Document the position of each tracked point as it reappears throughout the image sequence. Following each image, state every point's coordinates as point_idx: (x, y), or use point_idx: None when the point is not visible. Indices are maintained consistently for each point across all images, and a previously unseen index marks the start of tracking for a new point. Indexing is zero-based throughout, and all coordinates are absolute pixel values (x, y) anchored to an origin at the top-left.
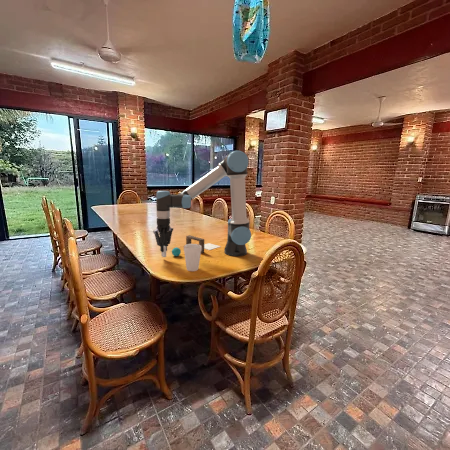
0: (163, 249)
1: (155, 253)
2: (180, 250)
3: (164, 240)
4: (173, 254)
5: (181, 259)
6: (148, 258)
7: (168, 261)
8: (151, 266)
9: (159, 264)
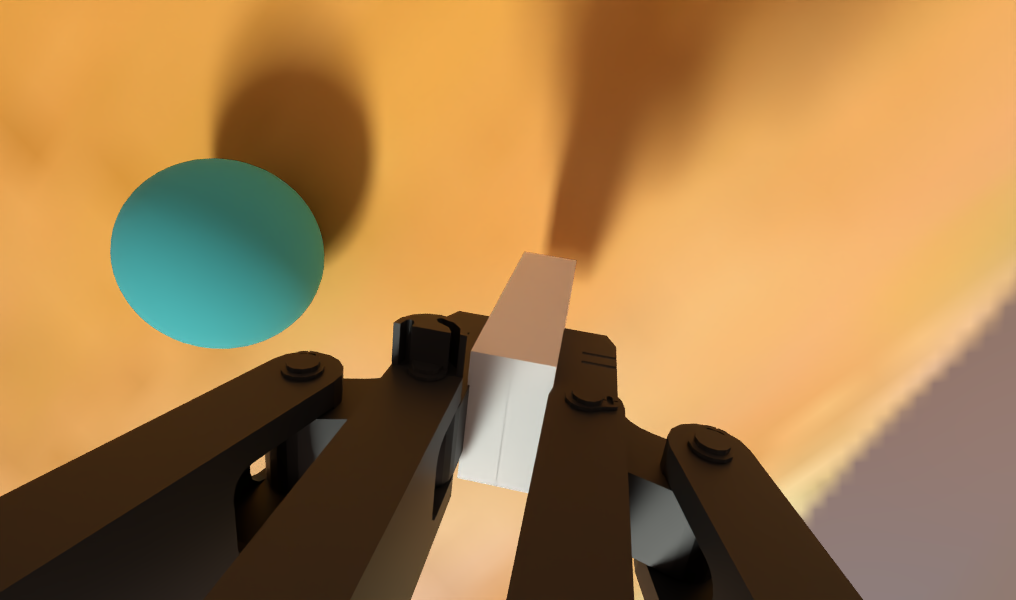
0: (560, 353)
1: (428, 563)
2: (137, 188)
3: (405, 566)
4: (323, 247)
5: (326, 8)
6: None
7: (573, 138)
8: (993, 201)
9: (811, 156)
